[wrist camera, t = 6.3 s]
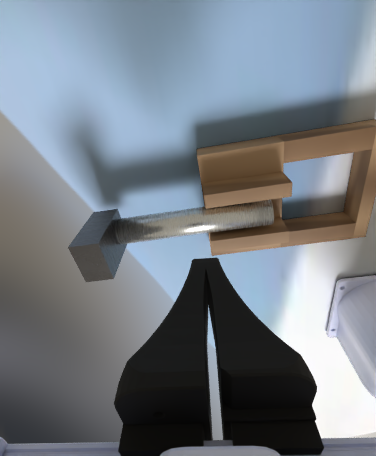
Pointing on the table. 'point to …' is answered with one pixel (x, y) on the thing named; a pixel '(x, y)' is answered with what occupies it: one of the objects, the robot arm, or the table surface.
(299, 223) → the wooden frame
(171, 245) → the table surface
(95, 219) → the grey metal hammer
